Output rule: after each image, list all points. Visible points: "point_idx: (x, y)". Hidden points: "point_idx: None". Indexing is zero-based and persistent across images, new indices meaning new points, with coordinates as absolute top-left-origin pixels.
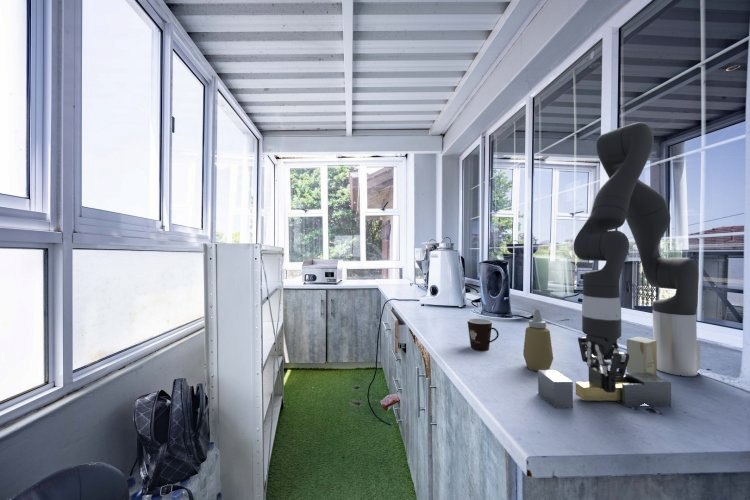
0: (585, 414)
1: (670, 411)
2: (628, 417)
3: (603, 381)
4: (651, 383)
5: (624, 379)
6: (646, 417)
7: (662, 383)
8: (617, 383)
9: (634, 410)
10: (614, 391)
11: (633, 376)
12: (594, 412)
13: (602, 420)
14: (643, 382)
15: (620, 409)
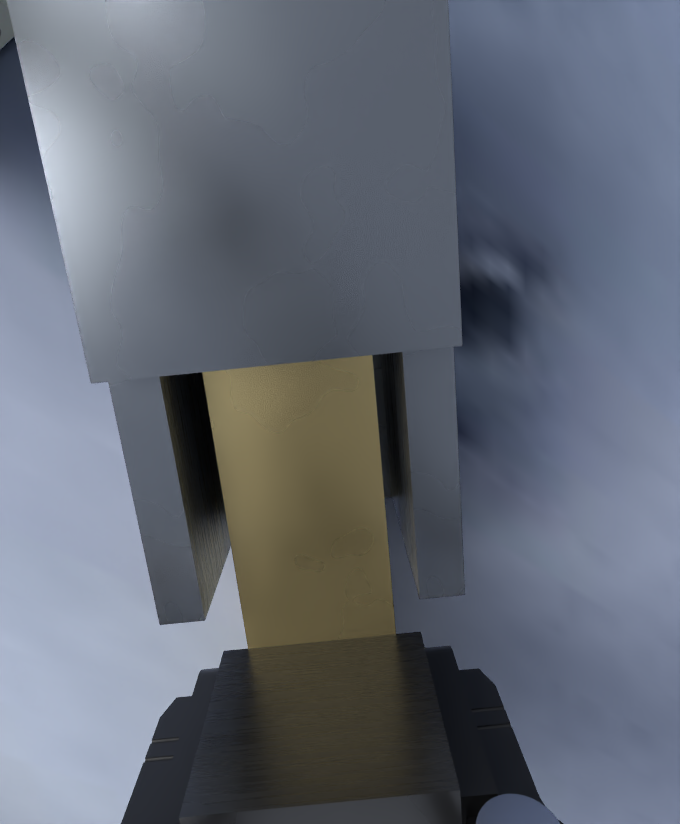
0: (547, 805)
1: (492, 132)
2: (591, 567)
3: None
4: (456, 237)
5: (177, 412)
6: (594, 435)
7: (445, 36)
8: (277, 537)
9: (483, 452)
10: (449, 648)
11: (237, 357)
12: (520, 743)
13: (625, 748)
14: (436, 344)
15: (470, 549)
